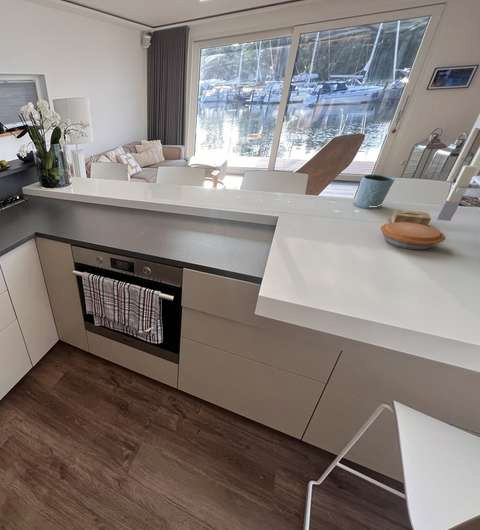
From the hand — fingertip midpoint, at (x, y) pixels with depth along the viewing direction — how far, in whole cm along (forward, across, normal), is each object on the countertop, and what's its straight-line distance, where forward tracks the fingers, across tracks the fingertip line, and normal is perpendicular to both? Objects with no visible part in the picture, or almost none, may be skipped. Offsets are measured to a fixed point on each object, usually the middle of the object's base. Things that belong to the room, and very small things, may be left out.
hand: (454, 188), depth 83 cm
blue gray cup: (+14, -34, +18) cm, 41 cm away
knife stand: (+3, -16, +18) cm, 24 cm away
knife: (-1, 0, +10) cm, 10 cm away
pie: (+5, +1, +18) cm, 19 cm away
